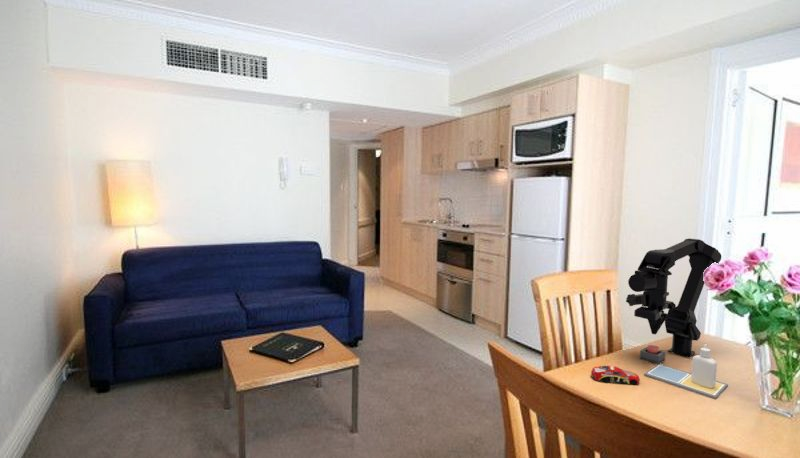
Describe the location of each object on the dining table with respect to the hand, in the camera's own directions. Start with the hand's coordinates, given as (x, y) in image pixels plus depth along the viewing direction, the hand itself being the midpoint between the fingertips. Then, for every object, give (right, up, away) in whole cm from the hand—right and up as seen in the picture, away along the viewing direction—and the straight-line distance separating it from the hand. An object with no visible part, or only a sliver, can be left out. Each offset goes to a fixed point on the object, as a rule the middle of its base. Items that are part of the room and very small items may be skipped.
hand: (654, 334), depth 134 cm
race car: (-21, -11, -13) cm, 27 cm away
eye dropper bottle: (+3, -10, -18) cm, 21 cm away
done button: (0, -6, +1) cm, 7 cm away
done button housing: (0, -9, +1) cm, 9 cm away
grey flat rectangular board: (0, -10, -14) cm, 18 cm away
